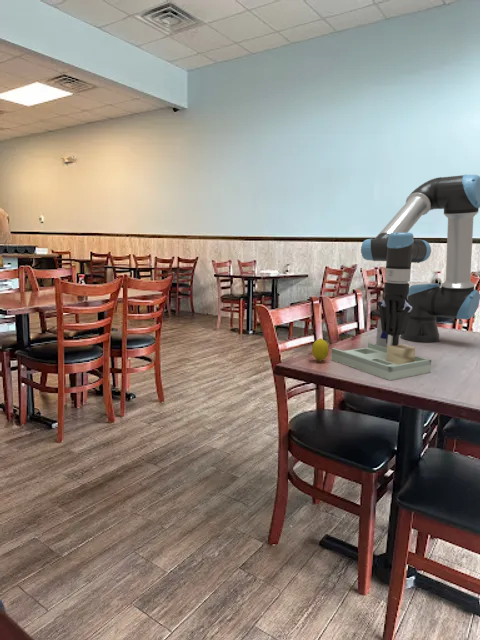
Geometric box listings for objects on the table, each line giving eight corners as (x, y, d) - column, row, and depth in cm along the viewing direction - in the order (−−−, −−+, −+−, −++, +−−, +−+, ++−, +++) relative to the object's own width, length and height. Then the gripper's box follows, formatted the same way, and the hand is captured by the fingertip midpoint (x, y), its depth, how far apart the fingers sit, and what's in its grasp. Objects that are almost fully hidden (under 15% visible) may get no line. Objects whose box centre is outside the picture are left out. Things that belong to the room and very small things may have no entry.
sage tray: (369, 353, 163) (370, 342, 162) (430, 372, 141) (431, 359, 140) (331, 359, 154) (331, 348, 154) (389, 380, 132) (390, 367, 131)
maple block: (399, 358, 147) (400, 343, 146) (414, 363, 142) (415, 347, 141) (386, 360, 144) (387, 345, 143) (400, 365, 139) (402, 349, 138)
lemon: (322, 358, 155) (323, 336, 154) (331, 362, 150) (332, 339, 149) (308, 360, 153) (309, 337, 152) (316, 364, 148) (317, 340, 147)
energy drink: (391, 353, 163) (393, 321, 161) (376, 352, 164) (378, 320, 162) (389, 350, 168) (392, 318, 166) (375, 349, 169) (377, 318, 167)
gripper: (373, 280, 145) (368, 351, 150) (405, 284, 134) (399, 360, 138) (389, 280, 149) (384, 348, 153) (422, 283, 138) (415, 357, 142)
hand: (391, 354), depth 146 cm, fingers closed
